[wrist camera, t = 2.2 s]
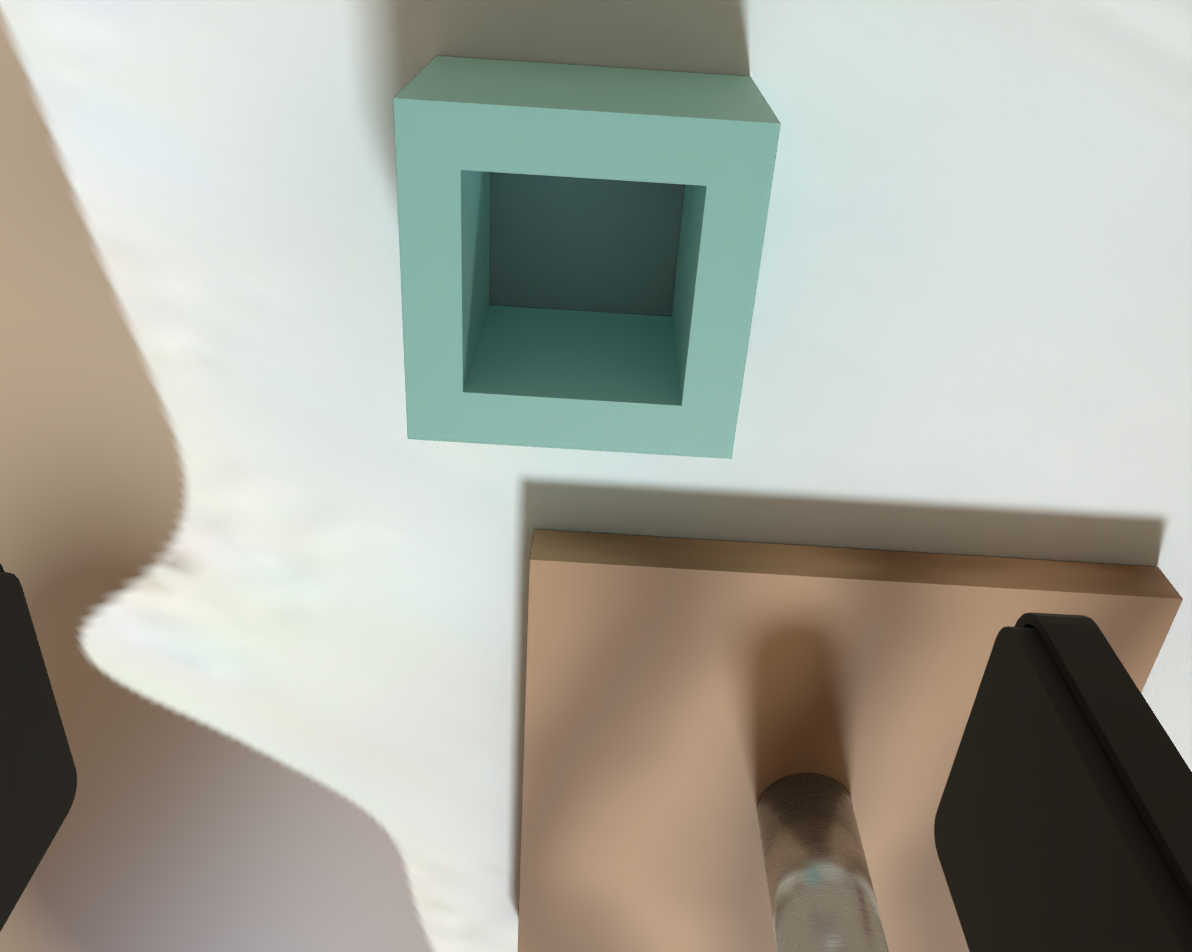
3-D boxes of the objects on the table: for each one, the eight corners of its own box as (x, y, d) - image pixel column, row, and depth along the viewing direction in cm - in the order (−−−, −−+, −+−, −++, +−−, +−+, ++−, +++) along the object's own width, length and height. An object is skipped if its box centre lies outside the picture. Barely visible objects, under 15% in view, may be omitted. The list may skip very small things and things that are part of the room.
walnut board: (1158, 566, 29) (1182, 599, 28) (995, 952, 38) (1008, 990, 37) (533, 529, 29) (529, 559, 28) (520, 926, 38) (517, 962, 37)
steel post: (859, 775, 32) (906, 951, 26) (842, 840, 33) (882, 1018, 28) (763, 770, 32) (791, 945, 26) (750, 835, 33) (774, 1012, 28)
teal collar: (750, 76, 23) (780, 123, 18) (713, 363, 26) (731, 458, 22) (436, 55, 22) (393, 98, 18) (442, 345, 26) (407, 438, 22)
